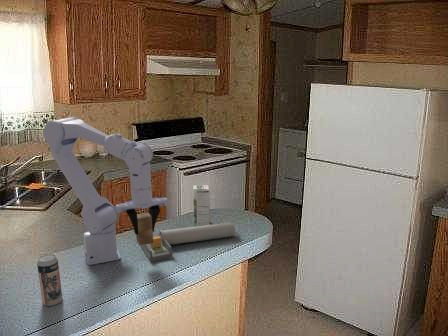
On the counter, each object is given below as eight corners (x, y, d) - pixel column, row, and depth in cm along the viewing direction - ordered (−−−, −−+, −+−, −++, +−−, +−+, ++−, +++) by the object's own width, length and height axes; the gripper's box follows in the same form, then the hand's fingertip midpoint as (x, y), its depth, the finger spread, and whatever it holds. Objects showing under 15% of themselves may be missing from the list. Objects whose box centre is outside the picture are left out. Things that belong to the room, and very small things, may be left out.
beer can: (48, 309, 103) (41, 264, 100) (38, 302, 106) (32, 258, 103) (66, 301, 106) (61, 257, 103) (57, 294, 109) (51, 251, 106)
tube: (231, 221, 146) (159, 229, 139) (236, 221, 141) (161, 230, 134) (232, 236, 146) (160, 246, 139) (237, 237, 141) (162, 247, 133)
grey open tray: (172, 257, 129) (172, 246, 128) (150, 262, 126) (149, 251, 125) (161, 242, 139) (161, 232, 139) (140, 246, 137) (140, 236, 136)
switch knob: (161, 246, 132) (160, 237, 131) (151, 248, 131) (151, 239, 130) (159, 244, 133) (159, 236, 133) (150, 246, 132) (150, 237, 132)
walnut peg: (139, 245, 121) (137, 219, 119) (136, 240, 125) (134, 214, 123) (153, 243, 123) (151, 217, 121) (150, 237, 126) (148, 212, 124)
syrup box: (193, 222, 156) (192, 184, 153) (209, 221, 157) (208, 184, 153) (194, 228, 151) (192, 189, 147) (210, 227, 151) (209, 188, 148)
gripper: (117, 194, 114) (121, 241, 117) (169, 187, 119) (172, 232, 122) (113, 187, 120) (117, 232, 123) (163, 181, 125) (165, 224, 129)
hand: (144, 231), depth 123 cm, fingers closed on walnut peg, 4 cm apart
